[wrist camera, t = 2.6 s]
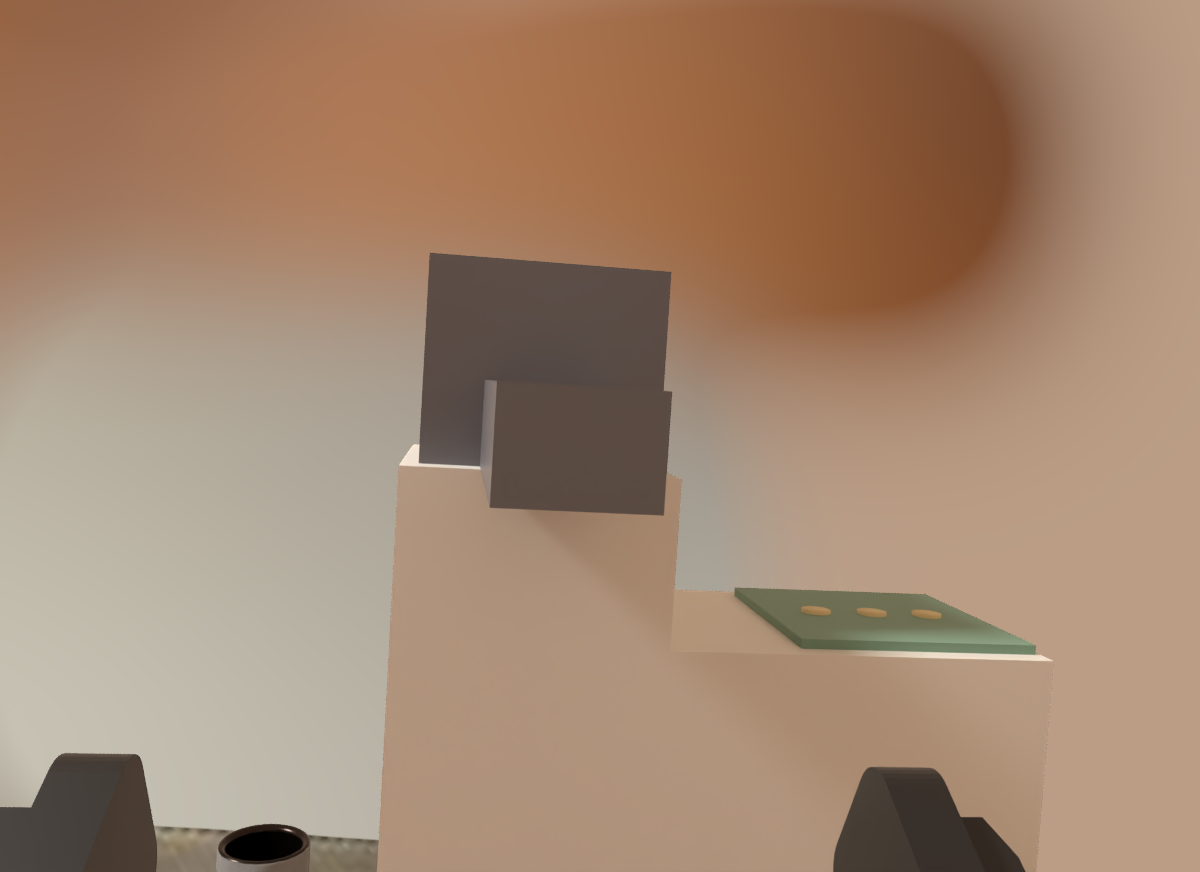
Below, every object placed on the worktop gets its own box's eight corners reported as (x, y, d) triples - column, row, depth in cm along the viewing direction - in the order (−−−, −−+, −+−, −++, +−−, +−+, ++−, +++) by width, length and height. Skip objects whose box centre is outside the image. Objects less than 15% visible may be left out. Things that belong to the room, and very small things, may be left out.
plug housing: (399, 503, 20) (416, 192, 19) (426, 446, 36) (435, 277, 36) (748, 519, 21) (768, 223, 20) (620, 457, 37) (631, 291, 37)
